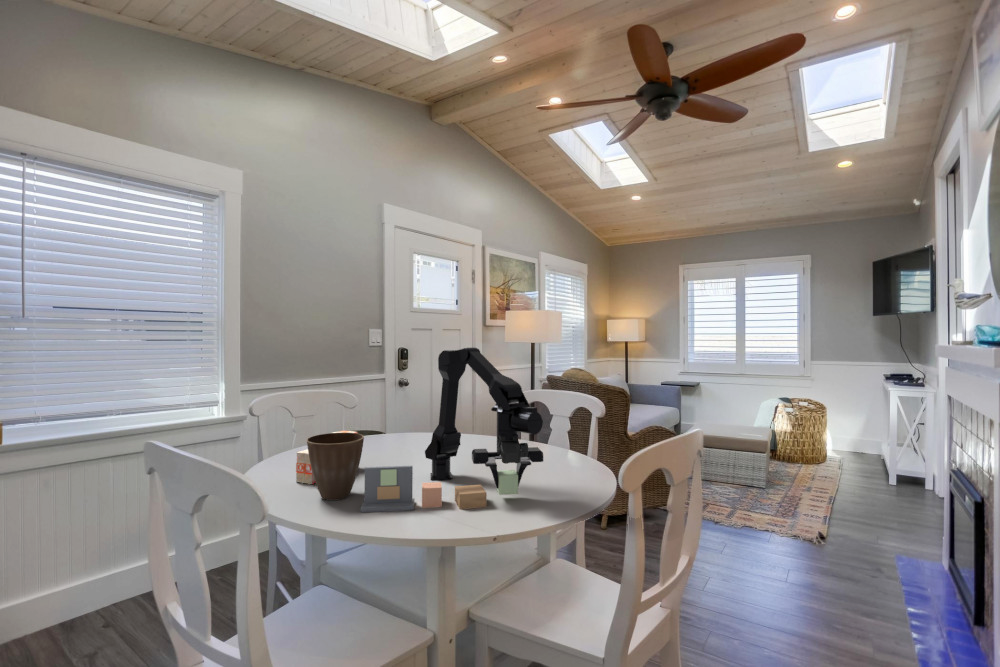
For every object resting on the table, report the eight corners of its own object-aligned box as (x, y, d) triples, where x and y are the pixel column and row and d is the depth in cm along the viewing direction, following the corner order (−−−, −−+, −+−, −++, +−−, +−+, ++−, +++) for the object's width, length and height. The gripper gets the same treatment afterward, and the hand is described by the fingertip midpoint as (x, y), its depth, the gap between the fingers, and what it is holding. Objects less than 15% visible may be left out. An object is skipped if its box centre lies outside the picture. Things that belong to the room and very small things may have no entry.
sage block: (496, 489, 138) (496, 470, 138) (514, 488, 139) (514, 470, 139) (499, 494, 133) (499, 475, 133) (518, 494, 134) (518, 475, 134)
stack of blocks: (312, 485, 149) (312, 443, 149) (295, 483, 151) (295, 442, 151) (358, 468, 169) (358, 431, 169) (342, 466, 171) (342, 429, 171)
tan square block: (454, 501, 135) (454, 486, 135) (480, 499, 137) (480, 484, 137) (459, 510, 128) (459, 494, 128) (486, 507, 130) (486, 492, 130)
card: (363, 504, 132) (363, 465, 132) (414, 502, 134) (414, 464, 134) (360, 512, 126) (360, 471, 126) (413, 509, 128) (413, 470, 128)
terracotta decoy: (422, 501, 134) (422, 482, 134) (441, 500, 135) (441, 482, 135) (421, 508, 129) (422, 488, 130) (441, 507, 130) (441, 487, 130)
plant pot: (369, 500, 135) (369, 440, 135) (309, 508, 129) (309, 445, 129) (358, 485, 149) (358, 430, 149) (303, 492, 142) (304, 435, 142)
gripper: (475, 436, 127) (475, 498, 127) (548, 434, 129) (548, 495, 129) (471, 427, 138) (471, 485, 138) (538, 426, 140) (538, 482, 140)
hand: (507, 487), depth 136 cm, fingers closed on sage block, 5 cm apart
